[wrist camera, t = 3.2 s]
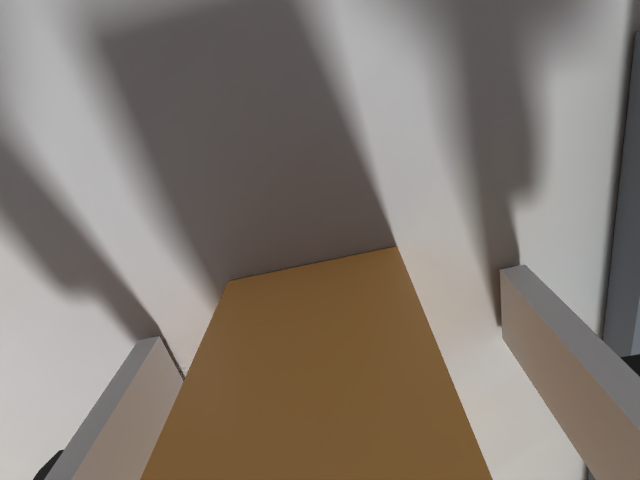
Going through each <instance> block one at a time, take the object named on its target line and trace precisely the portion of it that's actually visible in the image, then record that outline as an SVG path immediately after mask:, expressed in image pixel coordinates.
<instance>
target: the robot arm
mask: <svg viewBox="0 0 640 480" xmlns="http://www.w3.org/2000/svg"><path fill="white" fill-rule="evenodd" d="M500 290H501V315H502V338H503V340H504V341H505V343H506V344H507V346H508V347H509V349H510V350H511V352H512V353H513V355H514V356H515V358H516V359H517V361H518V362H519V364H520V365H521V367H522V368H523V370H524V371H525V373H526V374H527V376H528V378H529V379H530V381H531V382H532V384H533V385H534V387H535V388H536V390H537V391H538V393H539V394H540V396H541V397H542V399H543V400H544V402H545V403H546V405H547V406H548V408H549V409H550V411H551V412H552V414H553V415H554V417H555V418H556V420H557V421H558V423H559V425H560V426H561V428H562V429H563V431H564V432H565V434H566V435H567V437H568V438H569V440H570V441H571V443H572V444H573V446H574V447H575V449H576V450H577V452H578V453H579V455H580V456H581V458H582V459H583V461H584V462H585V464H586V465H587V467H588V468H589V470H590V472H591V473H592V475H593V476H594V478H595V479H596V480H640V354H637V355H631V356H625V357H619V356H618V355H617V354H616V353H615V352H614V351H613V350H612V349H611V348H610V347H609V346H608V345H607V344H606V343H605V342H604V341H603V340H602V339H601V338H600V337H598V336H597V335H596V334H595V333H594V332H593V331H592V330H591V329H590V328H589V327H588V326H587V325H586V324H585V323H584V322H583V321H582V320H581V319H580V318H579V317H578V316H577V315H576V314H575V313H574V312H573V311H572V310H571V309H570V308H569V307H568V306H567V305H566V304H565V303H564V302H563V301H562V300H561V299H560V298H559V297H558V296H557V295H556V294H555V293H554V292H553V291H552V290H551V289H550V288H548V287H547V286H546V285H545V284H544V283H543V282H542V281H541V280H540V279H539V278H538V277H537V276H536V275H535V274H534V273H533V272H532V271H531V270H530V269H529V268H528V267H527V266H526V265H521V266H515V267H510V268H505V269H500ZM183 382H184V381H183V379H182V377H181V375H180V374H179V372H178V370H177V368H176V366H175V364H174V362H173V361H172V359H171V357H170V355H169V353H168V351H167V349H166V347H165V346H164V344H163V342H162V340H161V338H160V336H156V337H151V338H146V339H141V340H139V341H138V342H137V343H136V345H135V346H134V348H133V349H132V351H131V352H130V354H129V355H128V357H127V358H126V360H125V361H124V363H123V364H122V366H121V367H120V369H119V370H118V371H117V373H116V374H115V376H114V377H113V379H112V380H111V382H110V383H109V385H108V386H107V388H106V389H105V391H104V392H103V394H102V395H101V397H100V398H99V399H98V401H97V402H96V404H95V405H94V407H93V408H92V410H91V411H90V413H89V414H88V416H87V417H86V419H85V420H84V422H83V423H82V425H81V426H80V427H79V429H78V430H77V432H76V433H75V435H74V436H73V438H72V439H71V441H70V442H69V444H68V445H67V447H66V448H65V450H60V451H58V452H57V453H56V454H55V455H54V456H53V457H52V458H51V459H50V460H49V461H48V462H47V463H46V464H45V465H44V466H43V467H42V468H41V469H40V470H39V472H38V473H37V474H36V476H35V477H34V479H33V480H140V478H141V476H142V474H143V472H144V469H145V467H146V465H147V463H148V460H149V458H150V456H151V454H152V451H153V449H154V447H155V445H156V442H157V440H158V438H159V436H160V433H161V431H162V429H163V427H164V424H165V422H166V420H167V418H168V415H169V413H170V411H171V409H172V406H173V404H174V402H175V400H176V397H177V395H178V393H179V391H180V388H181V386H182V384H183Z"/></svg>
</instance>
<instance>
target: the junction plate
mask: <svg viewBox="0 0 640 480" xmlns="http://www.w3.org/2000/svg"><path fill="white" fill-rule="evenodd" d="M603 341H604V342H605V343H606V344H607V345H608V346H609V347H610V348H611V349H612V350H613V351H614V352H615V353H616V354H617V355H618V356H619V357H625V356H631V355H637V354H640V31H637V32H636V35H635V45H634V54H633V63H632V73H631V82H630V91H629V101H628V110H627V119H626V128H625V138H624V147H623V156H622V166H621V175H620V184H619V194H618V203H617V212H616V221H615V231H614V240H613V249H612V259H611V268H610V277H609V286H608V296H607V305H606V314H605V324H604V333H603ZM588 480H596V479H595V478H594V476H593V475H592V473H591V472H590V470H589V472H588Z"/></svg>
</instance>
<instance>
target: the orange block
mask: <svg viewBox="0 0 640 480" xmlns="http://www.w3.org/2000/svg"><path fill="white" fill-rule="evenodd" d="M140 480H493V479H492V477H491V475H490V472H489V470H488V467H487V465H486V462H485V460H484V457H483V455H482V453H481V450H480V448H479V445H478V443H477V440H476V438H475V435H474V433H473V431H472V428H471V426H470V423H469V421H468V418H467V416H466V413H465V411H464V409H463V406H462V404H461V401H460V399H459V396H458V394H457V391H456V389H455V387H454V384H453V382H452V379H451V377H450V374H449V372H448V369H447V367H446V365H445V362H444V360H443V357H442V355H441V352H440V350H439V347H438V345H437V343H436V340H435V338H434V335H433V333H432V330H431V328H430V326H429V323H428V321H427V318H426V316H425V313H424V311H423V308H422V306H421V304H420V301H419V299H418V296H417V294H416V291H415V289H414V286H413V284H412V282H411V279H410V277H409V274H408V272H407V269H406V267H405V264H404V262H403V260H402V257H401V255H400V252H399V250H398V247H397V246H395V247H391V248H386V249H381V250H376V251H371V252H366V253H362V254H357V255H352V256H347V257H342V258H338V259H333V260H328V261H323V262H318V263H313V264H309V265H304V266H299V267H294V268H289V269H285V270H280V271H275V272H270V273H265V274H261V275H256V276H251V277H246V278H241V279H236V280H232V281H228V283H227V285H226V288H225V290H224V292H223V294H222V296H221V299H220V301H219V303H218V305H217V308H216V310H215V312H214V314H213V317H212V319H211V321H210V323H209V326H208V328H207V330H206V332H205V335H204V337H203V339H202V341H201V344H200V346H199V348H198V350H197V353H196V355H195V357H194V359H193V362H192V364H191V366H190V368H189V371H188V373H187V375H186V377H185V380H184V382H183V384H182V386H181V388H180V391H179V393H178V395H177V397H176V400H175V402H174V404H173V406H172V409H171V411H170V413H169V415H168V418H167V420H166V422H165V424H164V427H163V429H162V431H161V433H160V436H159V438H158V440H157V442H156V445H155V447H154V449H153V451H152V454H151V456H150V458H149V460H148V463H147V465H146V467H145V469H144V472H143V474H142V476H141V478H140Z"/></svg>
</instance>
